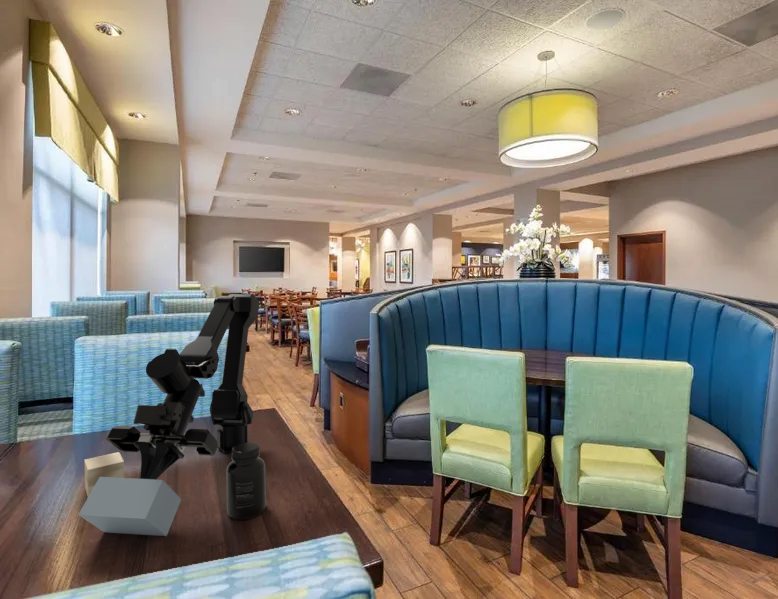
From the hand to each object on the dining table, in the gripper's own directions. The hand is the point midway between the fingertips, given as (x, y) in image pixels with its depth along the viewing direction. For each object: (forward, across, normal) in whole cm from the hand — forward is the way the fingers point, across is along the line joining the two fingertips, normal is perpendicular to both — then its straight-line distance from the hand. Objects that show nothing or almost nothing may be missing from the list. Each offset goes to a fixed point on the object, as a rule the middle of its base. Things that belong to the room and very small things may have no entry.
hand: (142, 488), depth 73 cm
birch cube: (-3, -16, +13) cm, 21 cm away
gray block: (+3, 0, +4) cm, 5 cm away
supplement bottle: (0, +16, +10) cm, 18 cm away
